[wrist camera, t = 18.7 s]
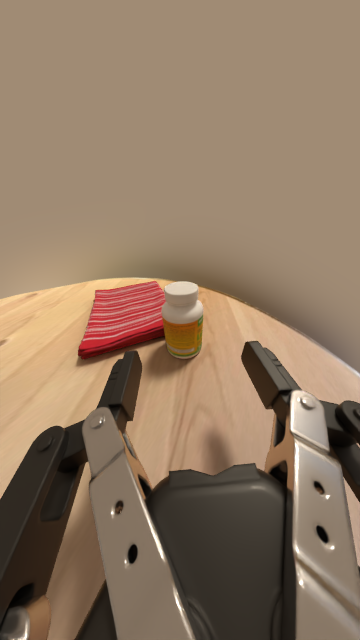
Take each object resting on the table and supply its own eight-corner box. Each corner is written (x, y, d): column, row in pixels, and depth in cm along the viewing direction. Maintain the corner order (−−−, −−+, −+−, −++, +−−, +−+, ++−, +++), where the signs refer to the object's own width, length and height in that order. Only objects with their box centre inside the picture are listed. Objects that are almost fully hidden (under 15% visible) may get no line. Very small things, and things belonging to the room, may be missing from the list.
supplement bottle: (203, 359, 20) (208, 296, 14) (165, 360, 20) (154, 299, 14) (199, 333, 24) (201, 278, 18) (168, 335, 24) (160, 280, 18)
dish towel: (78, 365, 20) (69, 353, 18) (96, 297, 38) (92, 288, 36) (189, 333, 24) (188, 320, 23) (157, 285, 42) (156, 277, 41)
